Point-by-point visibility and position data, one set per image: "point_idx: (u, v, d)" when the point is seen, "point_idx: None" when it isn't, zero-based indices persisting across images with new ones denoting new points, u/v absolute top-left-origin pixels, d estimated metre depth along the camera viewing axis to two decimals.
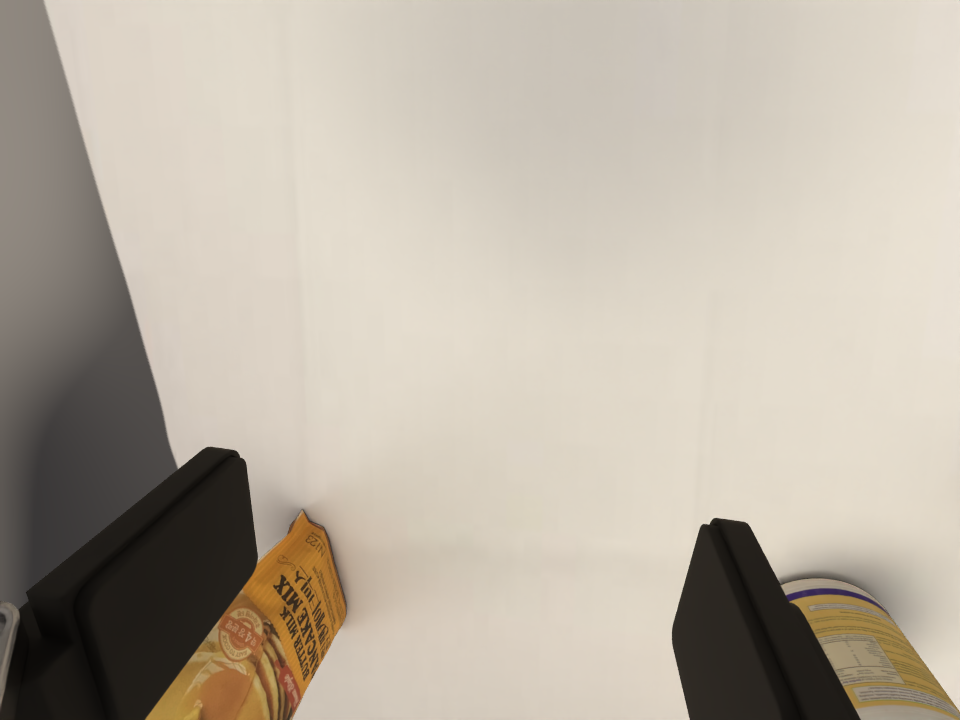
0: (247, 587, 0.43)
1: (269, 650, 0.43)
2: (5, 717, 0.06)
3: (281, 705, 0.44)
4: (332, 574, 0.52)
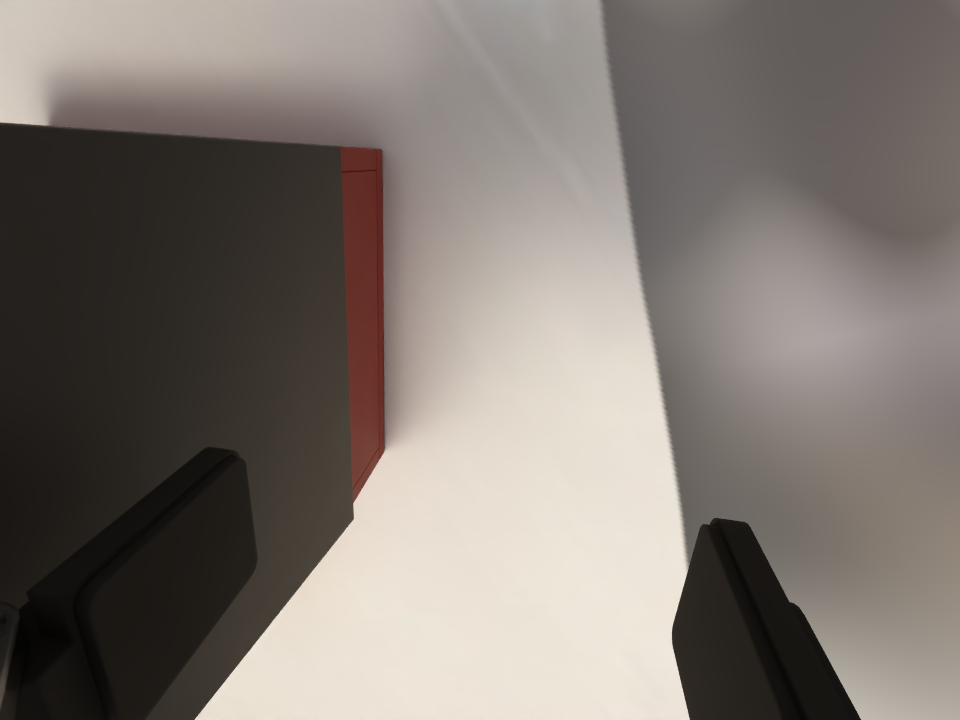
0: None
1: None
2: (6, 716, 0.06)
3: None
4: None
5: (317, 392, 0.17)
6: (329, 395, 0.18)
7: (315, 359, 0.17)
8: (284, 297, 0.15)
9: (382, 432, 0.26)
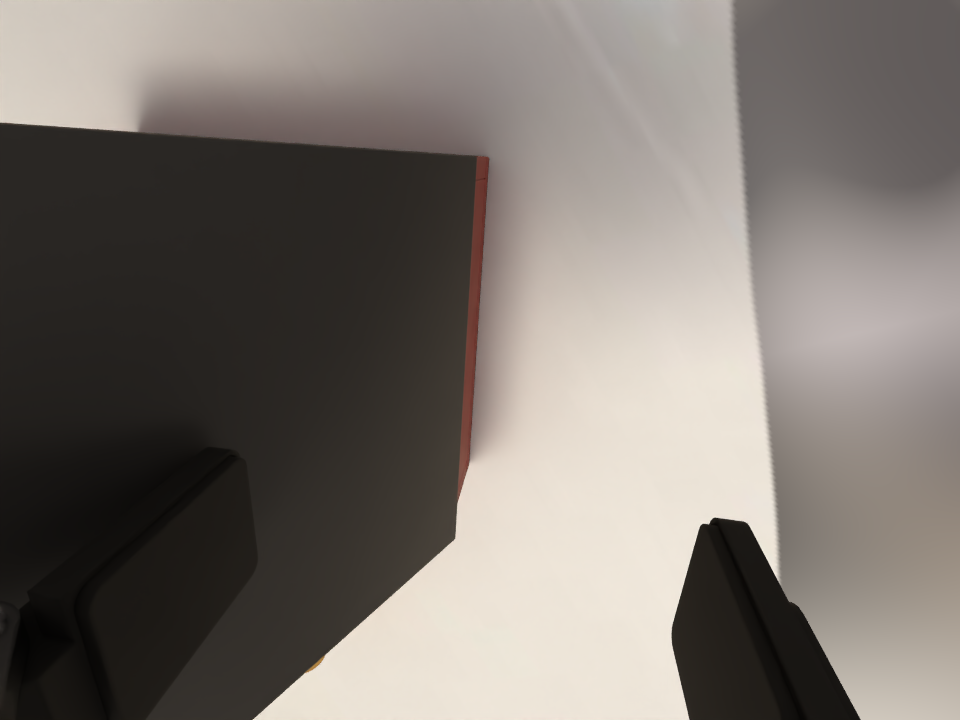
0: None
1: None
2: (7, 716, 0.06)
3: None
4: None
5: (425, 407, 0.17)
6: (438, 411, 0.17)
7: (426, 373, 0.16)
8: (397, 308, 0.14)
9: (469, 445, 0.25)
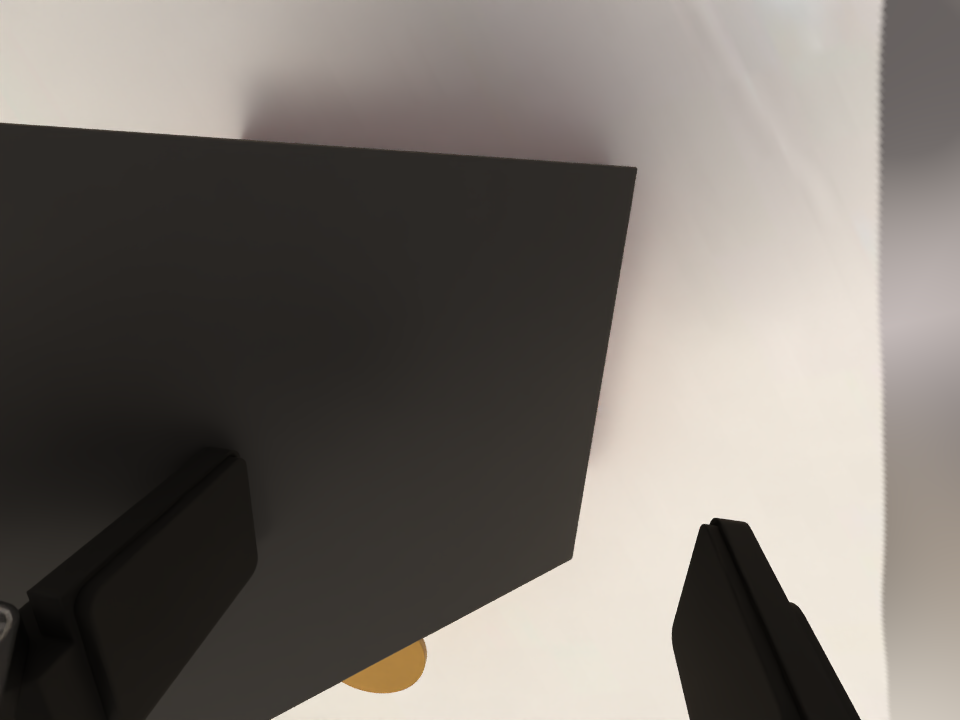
0: None
1: None
2: (7, 717, 0.06)
3: None
4: None
5: (553, 418, 0.16)
6: (567, 424, 0.17)
7: (558, 384, 0.16)
8: (533, 316, 0.14)
9: None
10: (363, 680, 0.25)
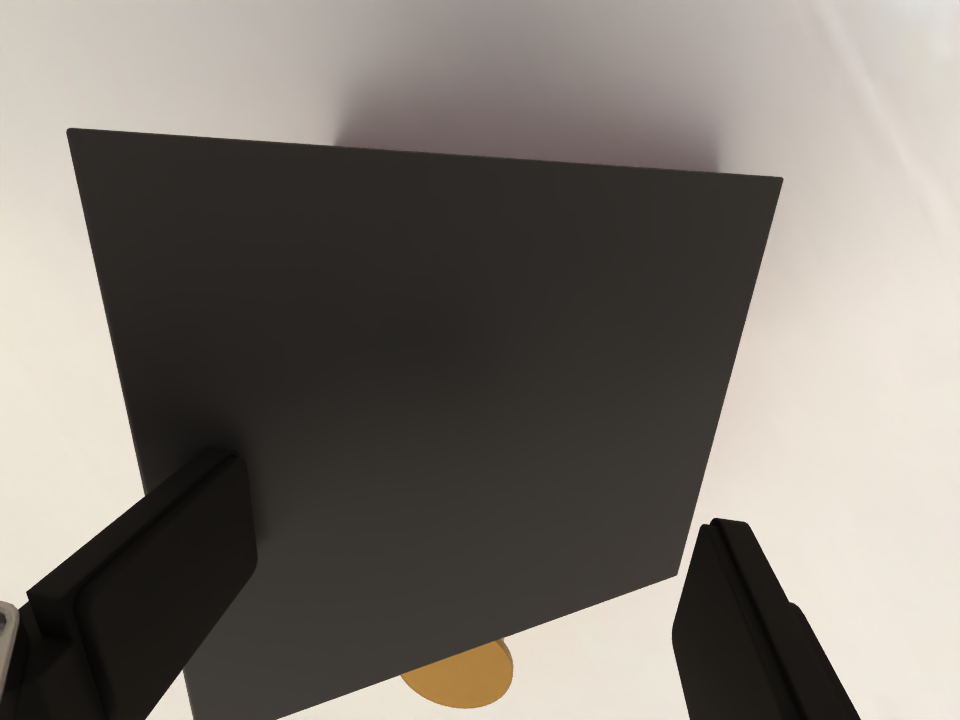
0: None
1: None
2: (5, 717, 0.06)
3: None
4: None
5: (671, 428, 0.16)
6: (685, 436, 0.17)
7: (680, 395, 0.16)
8: (662, 325, 0.14)
9: None
10: (445, 695, 0.24)
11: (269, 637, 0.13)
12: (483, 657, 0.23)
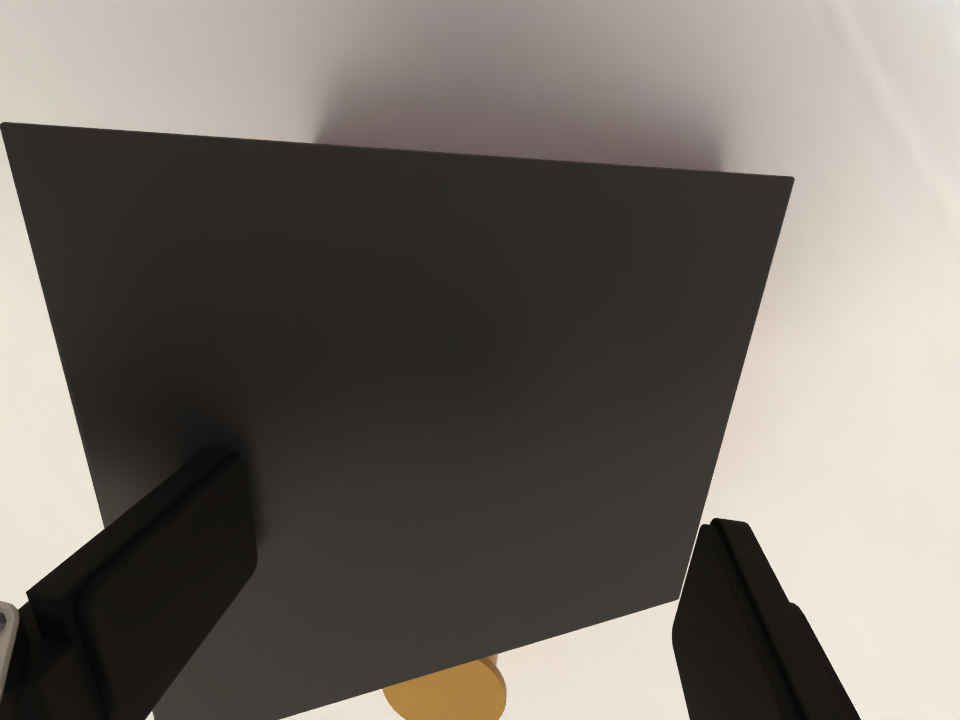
0: None
1: None
2: (6, 717, 0.06)
3: None
4: None
5: (669, 445, 0.15)
6: (685, 453, 0.16)
7: (678, 409, 0.15)
8: (656, 334, 0.14)
9: None
10: None
11: (233, 647, 0.12)
12: (475, 683, 0.22)
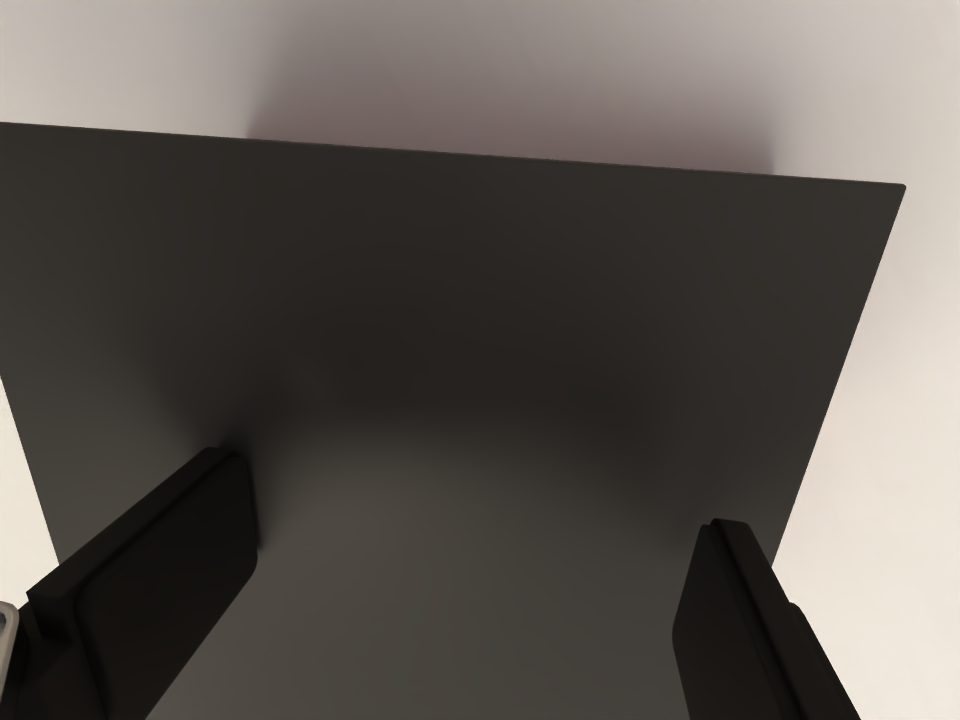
0: None
1: None
2: (7, 717, 0.06)
3: None
4: None
5: (690, 536, 0.12)
6: None
7: (703, 492, 0.11)
8: (663, 390, 0.10)
9: None
10: None
11: None
12: None
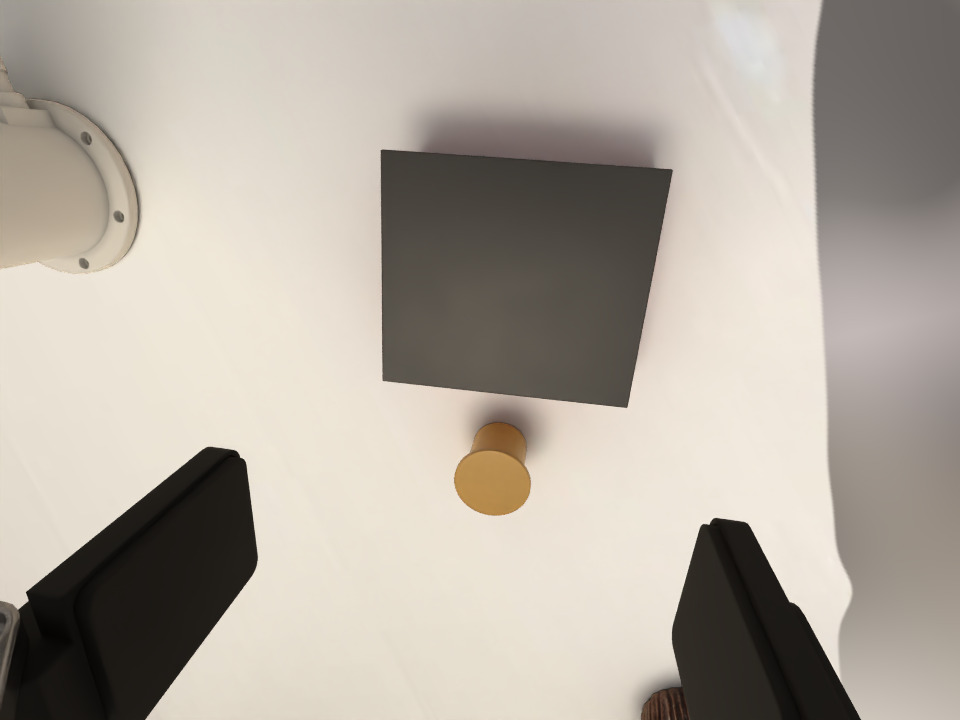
0: None
1: None
2: (5, 717, 0.06)
3: None
4: None
5: (610, 302, 0.31)
6: (621, 310, 0.31)
7: (614, 283, 0.30)
8: (597, 240, 0.30)
9: None
10: (486, 506, 0.38)
11: (411, 341, 0.33)
12: (512, 475, 0.37)
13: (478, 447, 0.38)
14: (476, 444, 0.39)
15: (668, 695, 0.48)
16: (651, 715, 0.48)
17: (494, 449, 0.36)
